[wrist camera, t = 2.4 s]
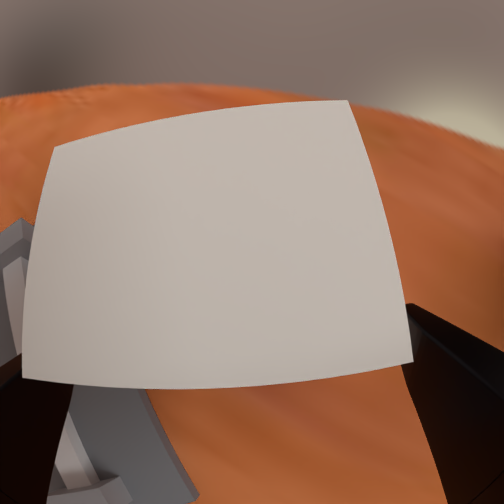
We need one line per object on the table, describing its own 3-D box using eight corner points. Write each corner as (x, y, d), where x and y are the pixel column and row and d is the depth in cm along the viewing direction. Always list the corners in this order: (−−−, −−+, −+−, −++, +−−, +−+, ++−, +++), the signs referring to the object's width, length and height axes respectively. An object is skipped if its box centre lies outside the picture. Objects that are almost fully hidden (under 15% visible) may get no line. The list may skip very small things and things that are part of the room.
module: (315, 367, 16) (413, 361, 4) (191, 377, 16) (22, 377, 4) (303, 265, 18) (339, 82, 6) (186, 276, 18) (61, 128, 6)
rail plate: (199, 494, 14) (183, 518, 10) (54, 521, 12) (26, 534, 9) (84, 203, 20) (59, 178, 17) (-20, 275, 19) (-48, 261, 16)
